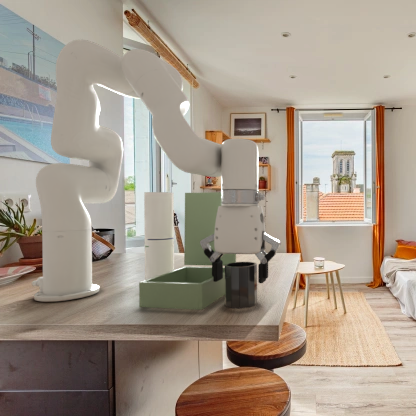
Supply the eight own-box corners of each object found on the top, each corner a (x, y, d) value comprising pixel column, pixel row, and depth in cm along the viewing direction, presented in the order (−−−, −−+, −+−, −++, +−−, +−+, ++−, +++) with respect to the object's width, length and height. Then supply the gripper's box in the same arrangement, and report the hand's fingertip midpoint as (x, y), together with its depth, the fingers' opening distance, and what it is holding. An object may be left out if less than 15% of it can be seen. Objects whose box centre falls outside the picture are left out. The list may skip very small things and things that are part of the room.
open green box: (202, 313, 64) (201, 284, 64) (139, 310, 66) (139, 282, 66) (235, 290, 82) (235, 267, 82) (185, 288, 84) (184, 266, 84)
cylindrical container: (162, 288, 84) (162, 191, 84) (138, 287, 85) (138, 192, 85) (179, 282, 91) (178, 193, 91) (156, 281, 92) (156, 193, 92)
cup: (220, 311, 65) (219, 266, 65) (232, 302, 72) (232, 261, 72) (250, 312, 64) (250, 267, 64) (260, 303, 71) (260, 261, 71)
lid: (235, 192, 82) (236, 192, 82) (184, 192, 84) (186, 193, 84) (234, 265, 81) (236, 265, 82) (184, 264, 83) (185, 264, 84)
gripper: (284, 199, 70) (284, 278, 70) (209, 199, 73) (209, 276, 73) (275, 198, 63) (275, 287, 63) (192, 199, 65) (192, 283, 66)
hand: (240, 281), depth 68 cm, fingers open, 9 cm apart
